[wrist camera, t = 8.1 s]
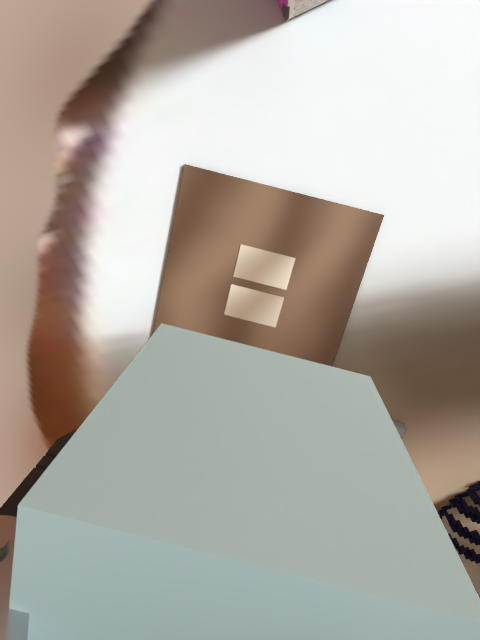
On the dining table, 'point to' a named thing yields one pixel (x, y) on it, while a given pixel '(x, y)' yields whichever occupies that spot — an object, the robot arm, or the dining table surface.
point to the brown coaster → (264, 265)
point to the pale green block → (236, 510)
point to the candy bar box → (297, 7)
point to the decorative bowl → (458, 527)
